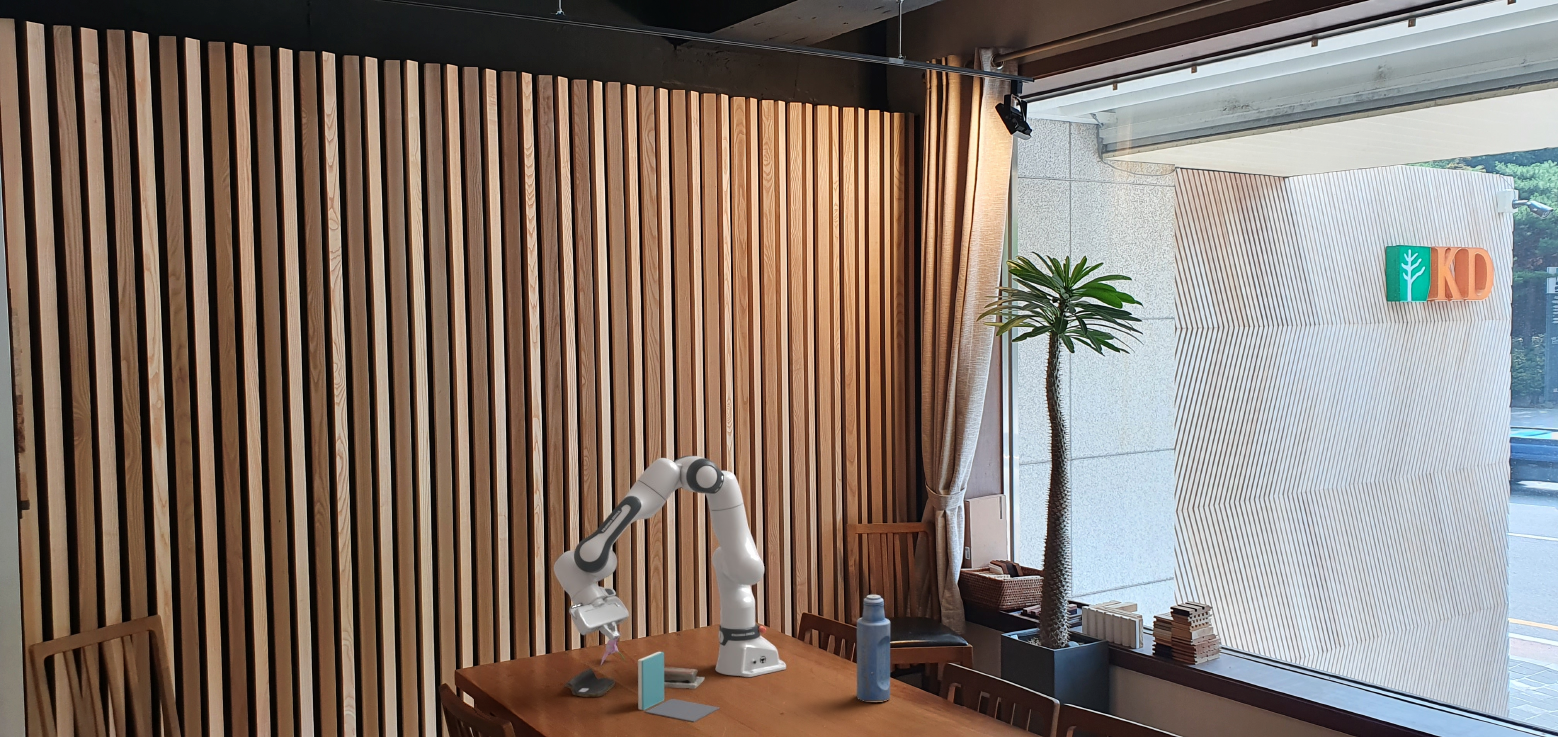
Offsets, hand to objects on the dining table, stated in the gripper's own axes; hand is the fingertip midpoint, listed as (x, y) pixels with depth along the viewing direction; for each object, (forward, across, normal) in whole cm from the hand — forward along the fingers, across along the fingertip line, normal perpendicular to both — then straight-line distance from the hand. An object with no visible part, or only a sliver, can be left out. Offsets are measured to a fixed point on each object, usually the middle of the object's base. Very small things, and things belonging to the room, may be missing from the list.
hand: (615, 638), depth 319 cm
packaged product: (+17, +21, +8) cm, 28 cm away
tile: (+21, 0, +3) cm, 22 cm away
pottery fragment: (+5, +3, +20) cm, 21 cm away
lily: (-5, +30, +30) cm, 43 cm away
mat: (+29, +1, -5) cm, 29 cm away
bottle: (+58, +36, -36) cm, 77 cm away
